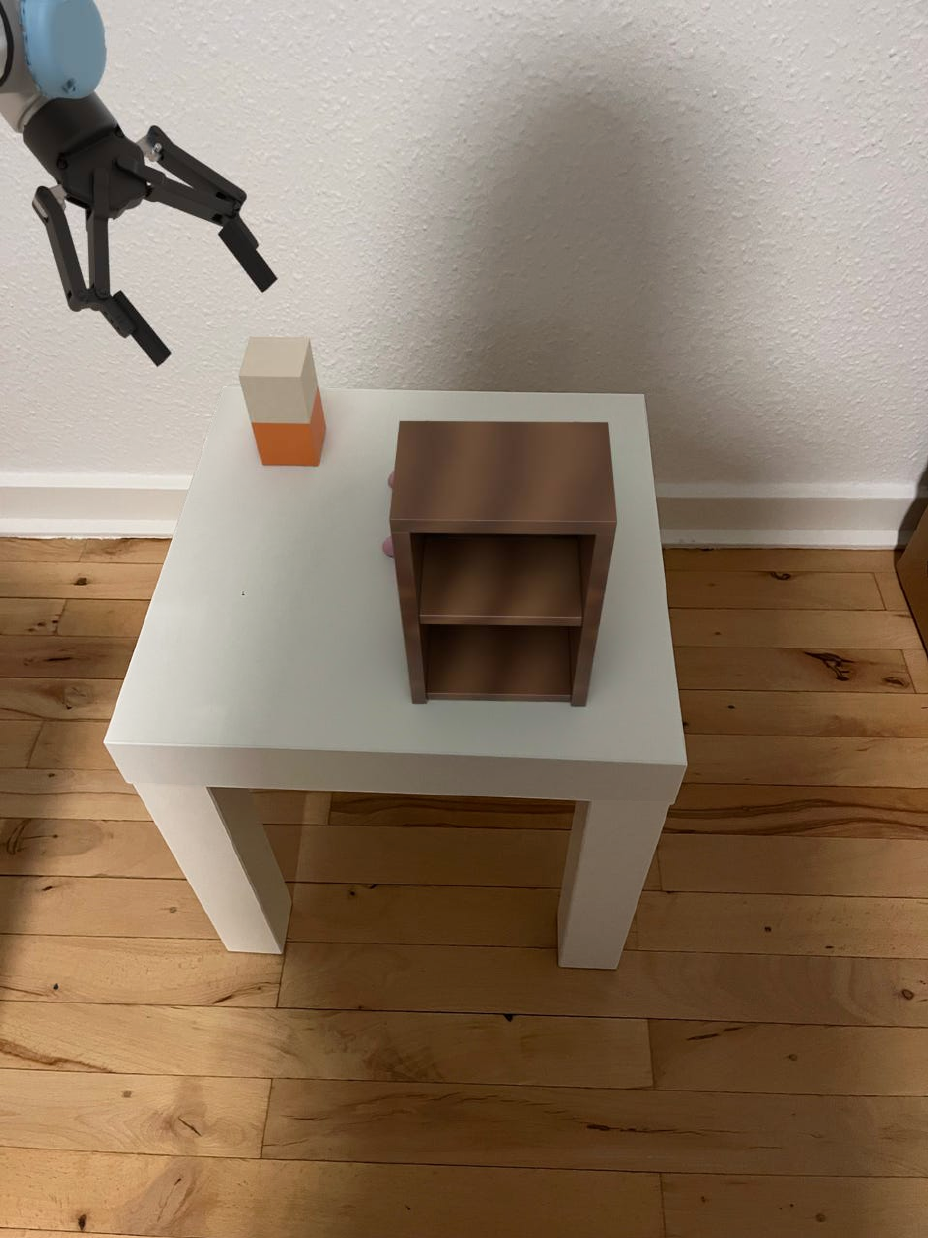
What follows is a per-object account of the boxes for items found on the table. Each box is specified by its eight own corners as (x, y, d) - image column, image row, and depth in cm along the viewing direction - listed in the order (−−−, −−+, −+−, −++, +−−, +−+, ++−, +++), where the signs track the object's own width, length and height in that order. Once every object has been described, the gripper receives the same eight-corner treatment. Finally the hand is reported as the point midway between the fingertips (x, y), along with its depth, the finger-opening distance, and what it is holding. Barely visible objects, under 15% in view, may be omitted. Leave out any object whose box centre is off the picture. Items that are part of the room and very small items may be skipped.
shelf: (411, 704, 74) (388, 519, 57) (418, 614, 80) (399, 420, 62) (585, 707, 74) (617, 521, 56) (580, 616, 79) (608, 421, 62)
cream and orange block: (262, 465, 91) (238, 375, 82) (271, 426, 94) (249, 336, 85) (318, 466, 91) (300, 376, 82) (326, 427, 94) (309, 337, 85)
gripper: (-68, 149, 70) (126, 381, 77) (175, 31, 82) (325, 242, 88) (-75, 195, 76) (105, 406, 83) (152, 79, 88) (294, 272, 95)
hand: (219, 322), depth 86 cm, fingers open, 13 cm apart
